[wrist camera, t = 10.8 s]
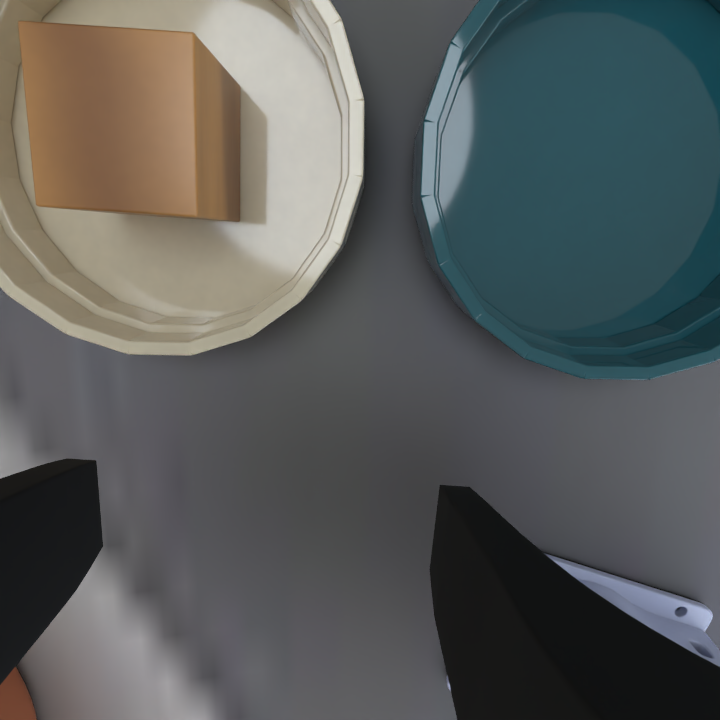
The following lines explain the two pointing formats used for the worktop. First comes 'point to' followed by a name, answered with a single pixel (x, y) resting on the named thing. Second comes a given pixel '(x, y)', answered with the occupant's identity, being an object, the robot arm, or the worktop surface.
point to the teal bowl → (579, 181)
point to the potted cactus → (15, 699)
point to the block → (130, 122)
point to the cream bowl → (196, 236)
